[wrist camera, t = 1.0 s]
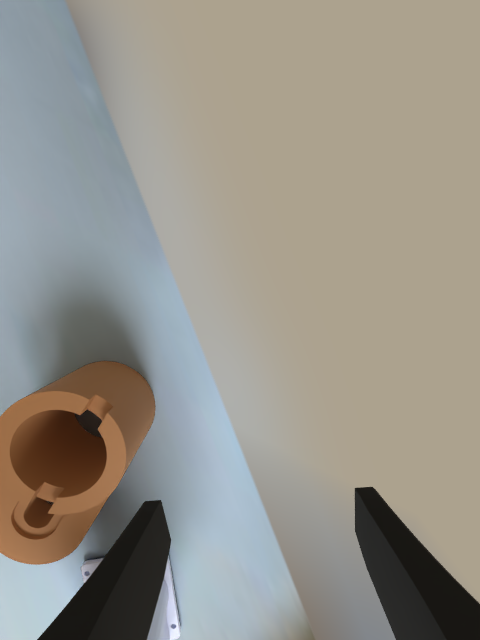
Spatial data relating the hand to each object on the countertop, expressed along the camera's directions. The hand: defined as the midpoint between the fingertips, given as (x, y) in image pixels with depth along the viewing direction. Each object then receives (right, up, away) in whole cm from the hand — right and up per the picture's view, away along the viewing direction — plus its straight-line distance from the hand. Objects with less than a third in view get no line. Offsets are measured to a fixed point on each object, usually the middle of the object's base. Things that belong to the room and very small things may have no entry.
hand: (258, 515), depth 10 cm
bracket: (-15, -5, +14) cm, 21 cm away
